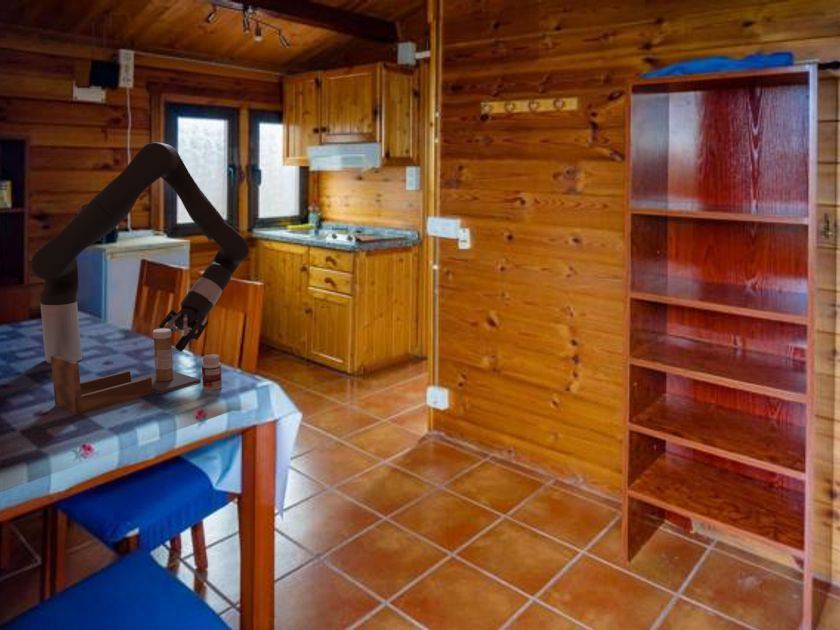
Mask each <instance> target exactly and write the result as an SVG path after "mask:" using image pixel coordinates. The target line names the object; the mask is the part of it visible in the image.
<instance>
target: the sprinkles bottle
mask: <svg viewBox="0 0 840 630" xmlns="http://www.w3.org/2000/svg"><path fill="white" fill-rule="evenodd" d="M170 329H171V328H170ZM170 329H167V328H156V329H153V330H152V338H153V347H154V348H153V349H154V353H153V355H154V367H155V373H156V380H157V381H170V380H172V379H173V378H174V376H173V371H174V369H173V368H174V360H173V348H172V336H173V335H172V334H173V333H172V334H171V330H170Z"/></svg>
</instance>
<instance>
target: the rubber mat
mask: <svg viewBox="0 0 840 630" xmlns="http://www.w3.org/2000/svg"><path fill="white" fill-rule="evenodd" d="M173 376H174V378H173V379H172V380H170V381H157V380H156V372H153V373H149V374H146V375H142V376H138V377H135V378H131V382H133V381H136V380H140V379H144V378H148V377H150V378H152V392H155V393H157V394H165V393H168V392H171V391H175V390H178V389H181V388H185V387H187V386H191V385H195V384H199V383H202V382H201V379H200V378H197V377H195V376H190V375H188V374H185V373H184V374H183V373H180V372H177V371H174V370H173Z"/></svg>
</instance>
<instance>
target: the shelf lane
mask: <svg viewBox="0 0 840 630" xmlns="http://www.w3.org/2000/svg"><path fill="white" fill-rule="evenodd" d="M50 365H51V375H52V384H53V395H54V405H55V406H56V405H57V406H56V407H58V406H60V407H59V408H61V407H62V408H61V409H64V408H65V409H64V410H66V409H67V410H66V411H69V410H70V411H69V412H71V411H72V412H71V413H73V414H76V413H77V415H81V413H82V414H85V413H88V412H87V411H89V412H92V411H95V410H94V409H96V410H98V408H99V409H102V408H101V407H103V408H106V407H109V405H110V406H113V405H116V404H120V403H122V402H123V403H124V402H127V401H130V400H133V399H136V398H141V397H143V396H148V395H151V394H153V391H152V378H150V377H148V378H144V379H140V380H136V381H133V382H131V379H132V375H131V371H130V370H126V371H122V372H117V373H114V374H113V373H112V374H108V375H105V376H102V377H96V378H94V379H93V378H91V379H90V380H89V379H88V380H86V381H81V379H80V377H81V375H80V364H79V361H77V362H74V361H71V360H68V359H65V358H62V357H59V356H55V355H54V356H51V364H50ZM105 406H106V407H105ZM91 410H92V411H91ZM84 412H85V413H84Z"/></svg>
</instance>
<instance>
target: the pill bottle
mask: <svg viewBox="0 0 840 630" xmlns="http://www.w3.org/2000/svg"><path fill="white" fill-rule="evenodd" d="M201 376H202V388H203V390H206V391H215V389H216V390H220V388H222V386H223V381H222V380H223V379H222V363H220V355H219V354H214V353H211V354H205V355H203V356H202V364H201Z"/></svg>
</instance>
